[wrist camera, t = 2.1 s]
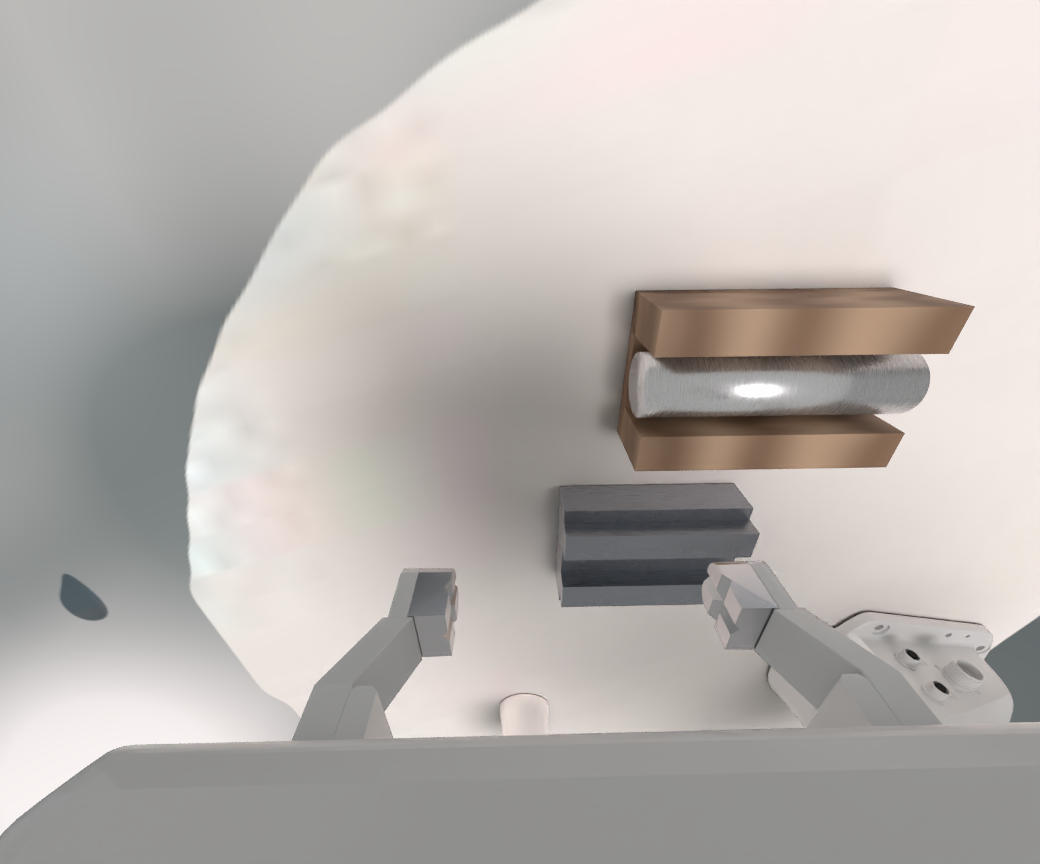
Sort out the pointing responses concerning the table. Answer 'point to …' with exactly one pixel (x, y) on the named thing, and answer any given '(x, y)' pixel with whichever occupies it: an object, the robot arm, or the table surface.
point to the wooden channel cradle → (777, 332)
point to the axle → (776, 385)
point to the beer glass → (524, 715)
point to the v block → (647, 541)
